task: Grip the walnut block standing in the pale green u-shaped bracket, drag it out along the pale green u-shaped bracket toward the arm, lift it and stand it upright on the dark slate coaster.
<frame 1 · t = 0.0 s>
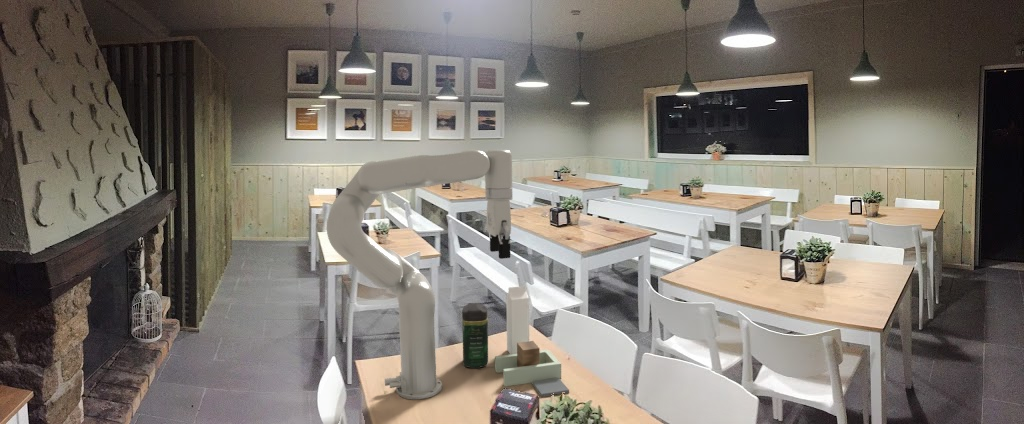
hand: (499, 254, 153), 37 cm above the table, tool pointing down, fingers open, 9 cm apart
coaster: (550, 388, 151), on the table
coffee jar: (475, 363, 169), on the table
pale green u-shaped bracket: (525, 374, 160), on the table
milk: (518, 352, 177), on the table
walnut block: (528, 374, 160), on the table
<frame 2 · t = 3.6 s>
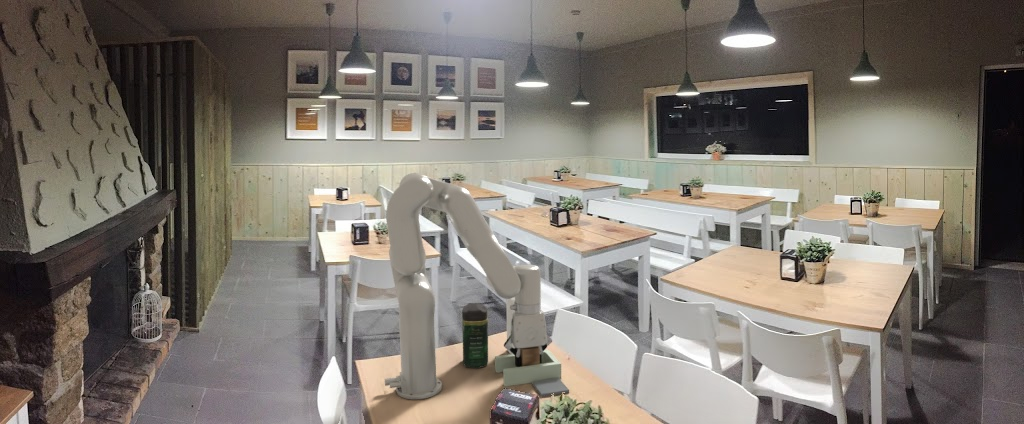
hand: (528, 366, 160), 2 cm above the table, tool pointing down, fingers closed on walnut block, 5 cm apart
walnut block: (528, 374, 160), on the table, touching gripper
everything else where it was.
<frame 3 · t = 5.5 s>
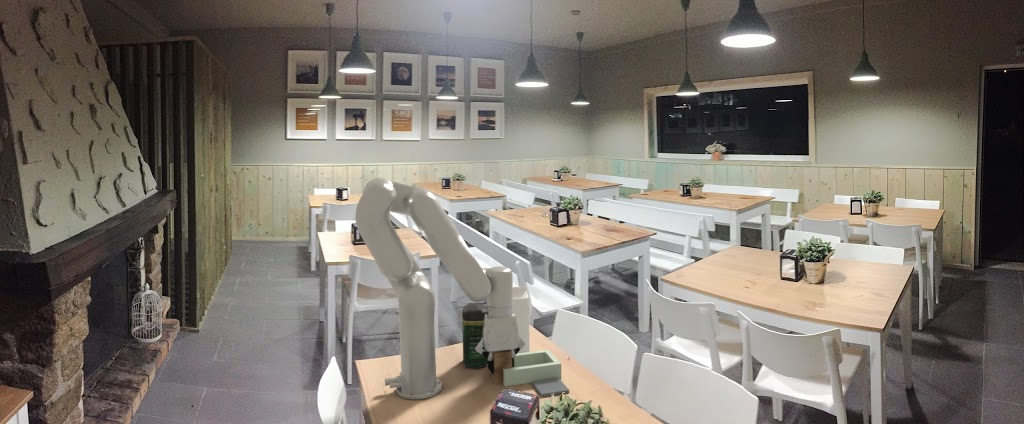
hand: (500, 370, 157), 2 cm above the table, tool pointing down, fingers closed on walnut block, 5 cm apart
walnut block: (501, 378, 158), on the table, touching gripper
everything else where it was.
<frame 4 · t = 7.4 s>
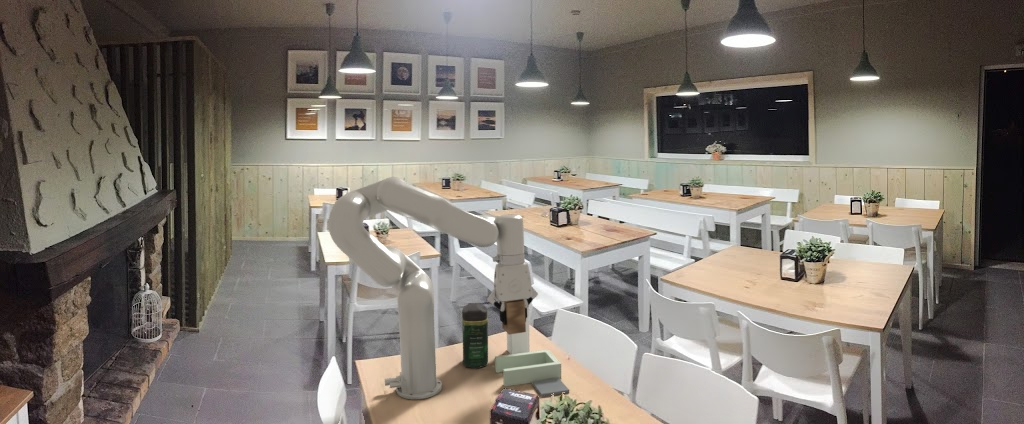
hand: (513, 321, 153), 18 cm above the table, tool pointing down, fingers closed on walnut block, 5 cm apart
walnut block: (514, 329, 153), point 15 cm above the table, touching gripper
everything else where it was.
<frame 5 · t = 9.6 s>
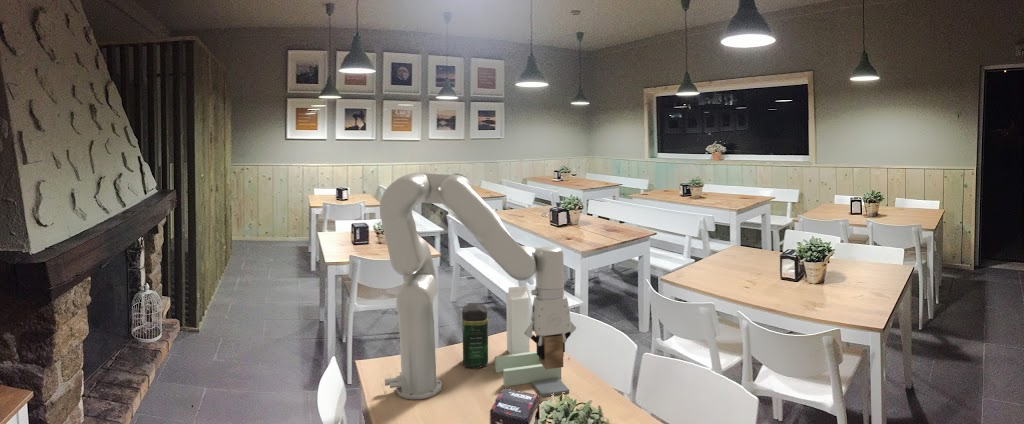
hand: (550, 355, 149), 10 cm above the table, tool pointing down, fingers closed on walnut block, 5 cm apart
walnut block: (550, 364, 150), point 7 cm above the table, touching gripper
everything else where it was.
when the fingers open (4 cm above the table, at t = 11.4 s): walnut block stays where it is, resting on coaster.
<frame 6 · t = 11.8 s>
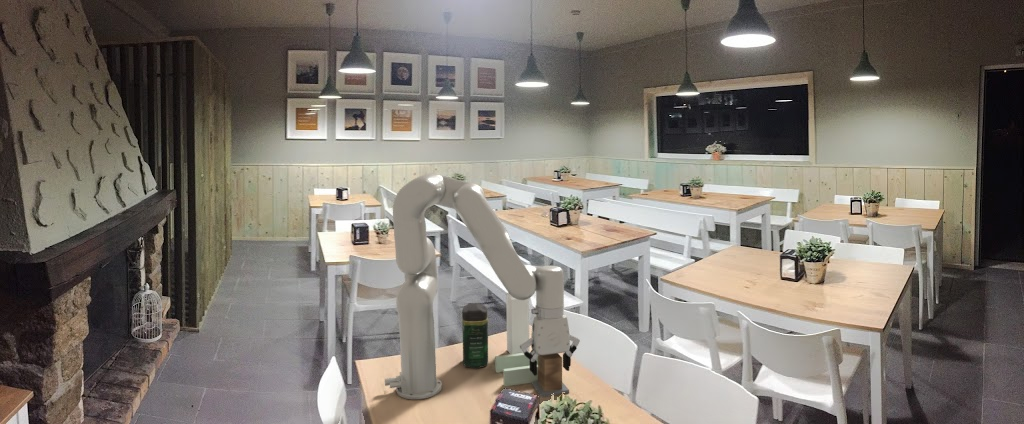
hand: (550, 371, 150), 5 cm above the table, tool pointing down, fingers open, 9 cm apart
walnut block: (549, 385, 151), point 1 cm above the table, touching coaster
everything else where it was.
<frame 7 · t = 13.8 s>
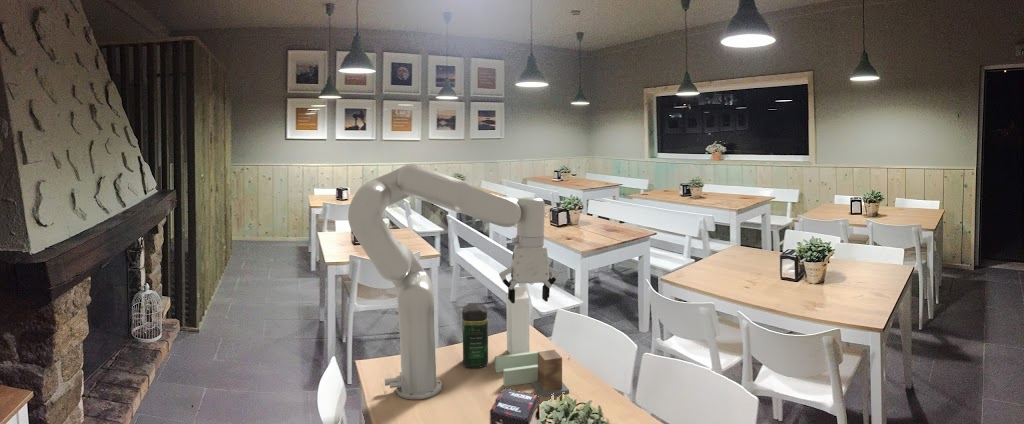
hand: (528, 301, 153), 23 cm above the table, tool pointing down, fingers open, 9 cm apart
nothing on the table moved.
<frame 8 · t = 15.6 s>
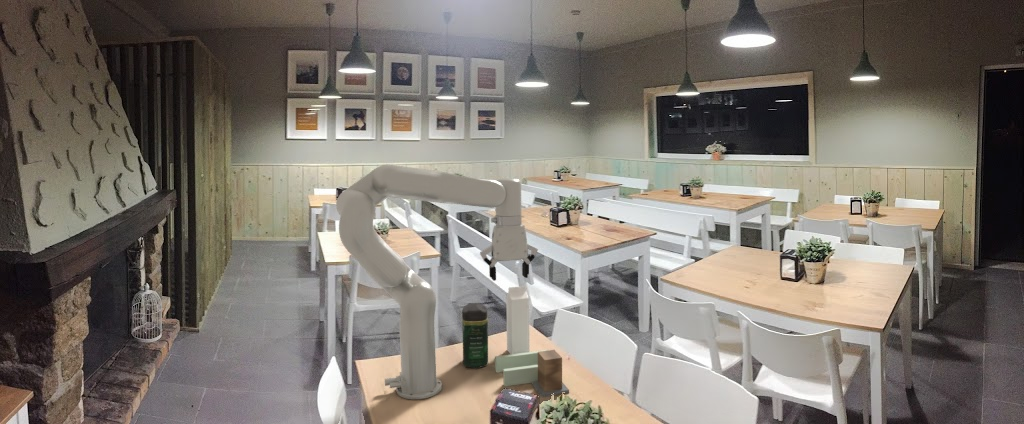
hand: (509, 278, 160), 28 cm above the table, tool pointing down, fingers open, 9 cm apart
nothing on the table moved.
at the end: walnut block inside the target area on the coaster (0.1 cm from its centre), point 0.8 cm above the coaster's base; walnut block tilted 0°; the gripper is holding nothing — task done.
